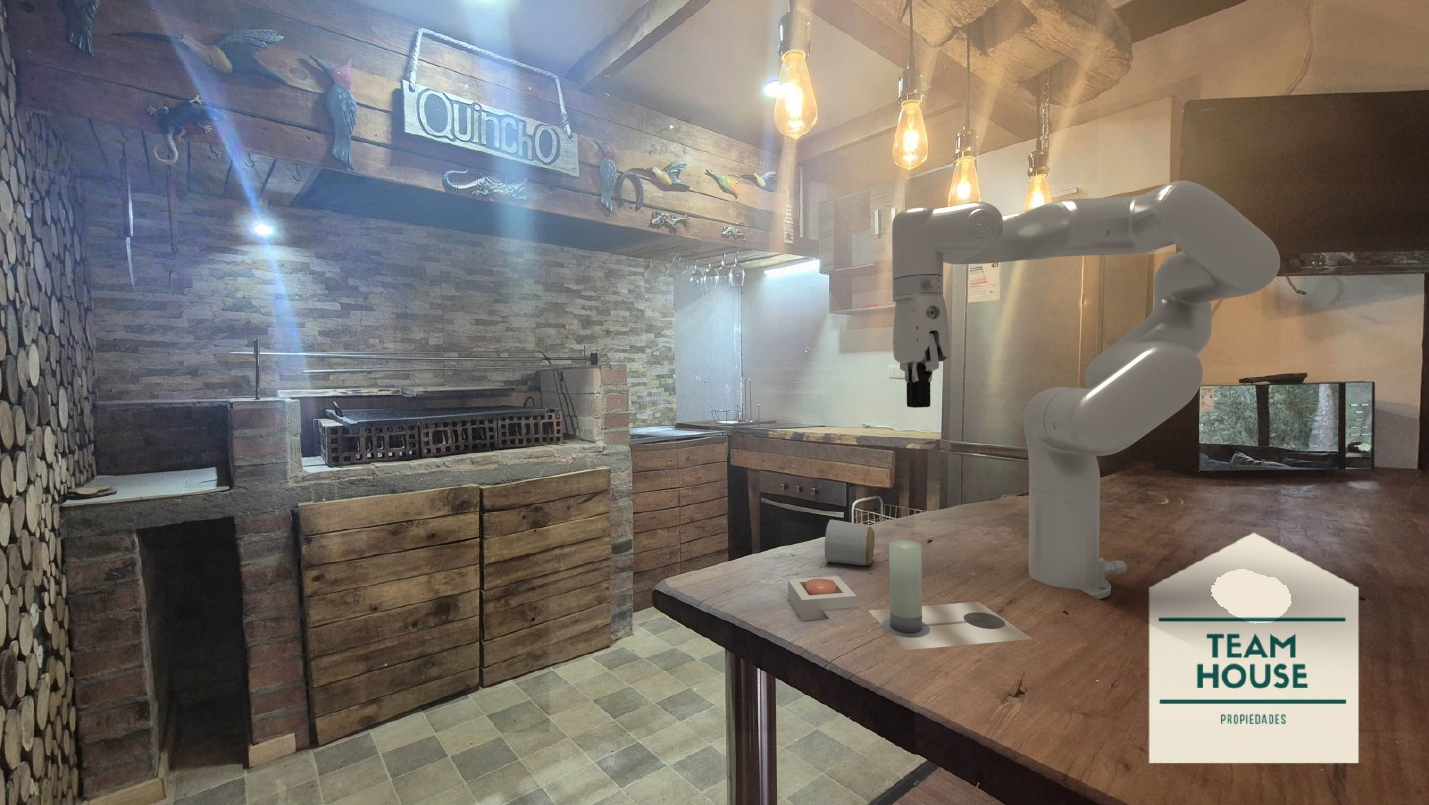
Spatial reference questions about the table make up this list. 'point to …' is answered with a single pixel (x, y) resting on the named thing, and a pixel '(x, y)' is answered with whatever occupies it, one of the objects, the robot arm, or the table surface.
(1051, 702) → the table surface
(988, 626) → the board
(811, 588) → the button
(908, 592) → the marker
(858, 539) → the ceramic mug
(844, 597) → the button housing
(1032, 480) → the robot arm
